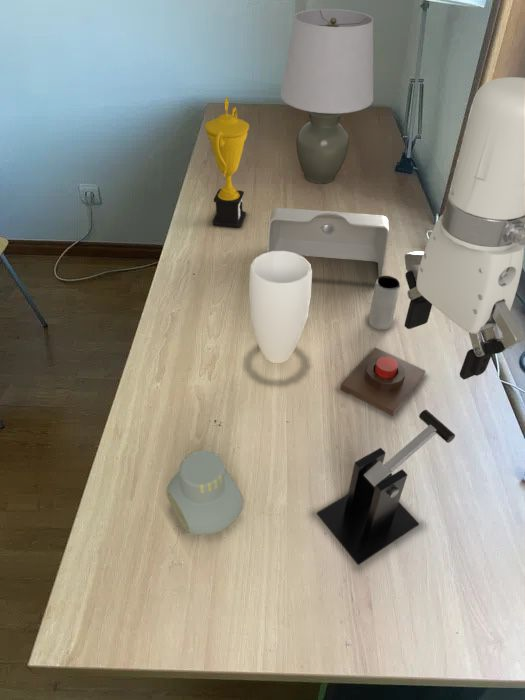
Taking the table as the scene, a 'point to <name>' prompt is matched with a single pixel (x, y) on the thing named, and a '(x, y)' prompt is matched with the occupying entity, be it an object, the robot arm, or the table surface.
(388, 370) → the button
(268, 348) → the cup
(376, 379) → the button block
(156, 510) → the table surface
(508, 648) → the table surface
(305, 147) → the lamp
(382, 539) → the black stand
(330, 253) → the tank
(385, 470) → the lever
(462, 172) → the robot arm
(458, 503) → the table surface
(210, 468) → the air freshener
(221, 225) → the trophy
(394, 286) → the grey cylinder
